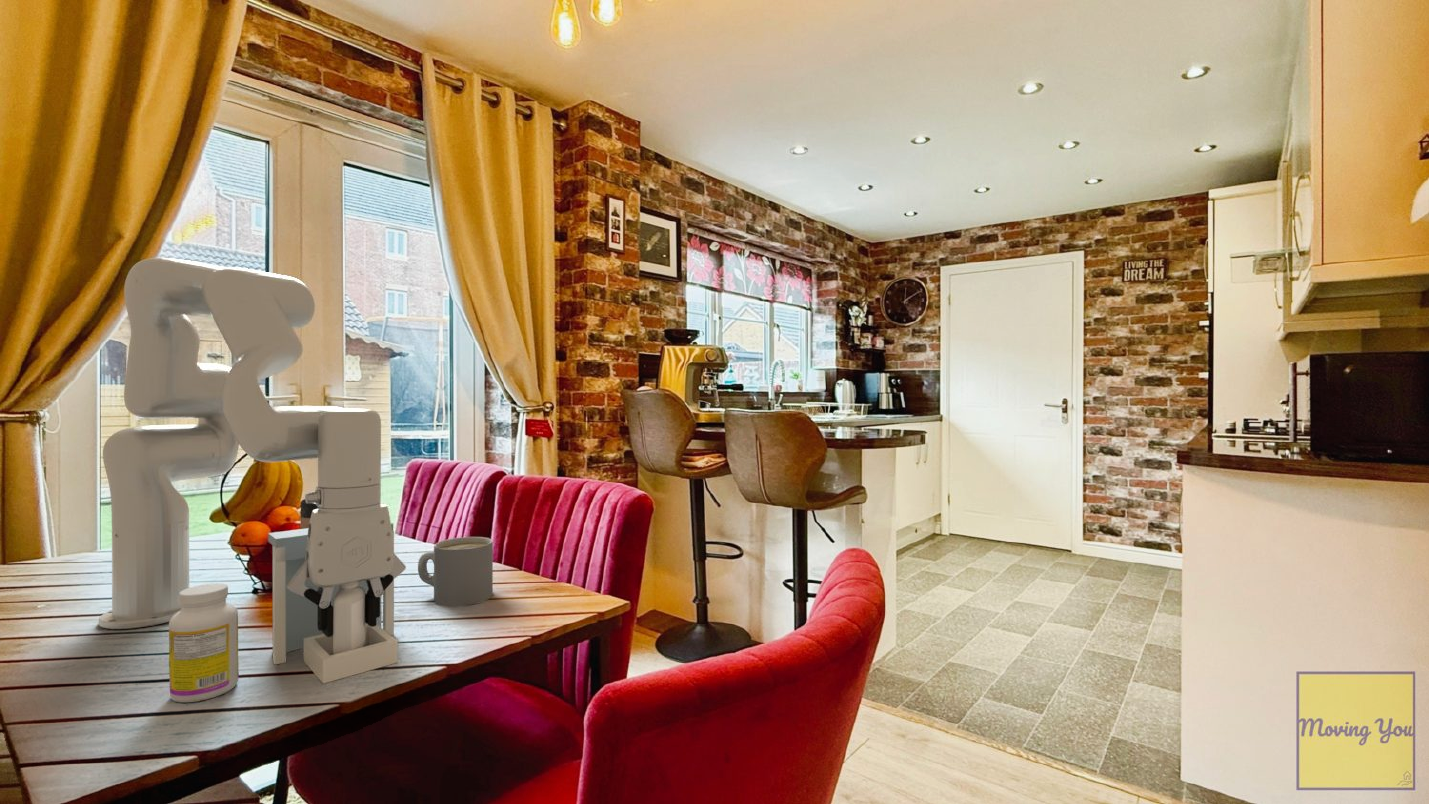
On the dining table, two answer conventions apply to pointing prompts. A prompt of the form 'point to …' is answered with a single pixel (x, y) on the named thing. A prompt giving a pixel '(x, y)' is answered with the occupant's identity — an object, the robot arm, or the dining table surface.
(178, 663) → the supplement bottle
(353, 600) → the eye dropper bottle
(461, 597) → the coffee mug
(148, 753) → the dining table surface
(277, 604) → the roller blind
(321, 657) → the socket
